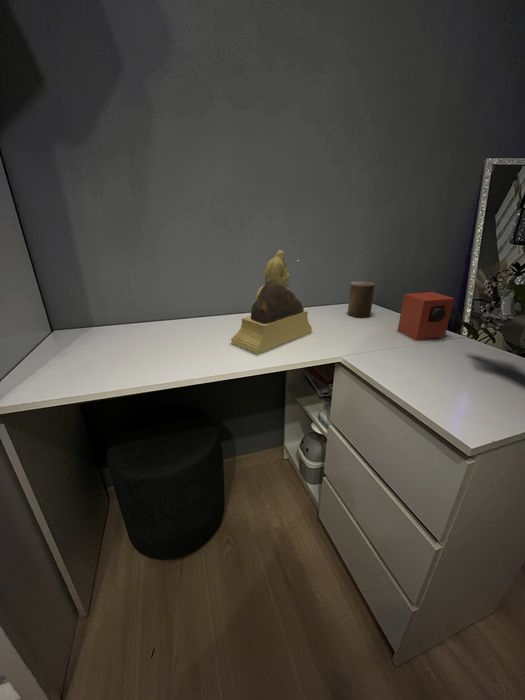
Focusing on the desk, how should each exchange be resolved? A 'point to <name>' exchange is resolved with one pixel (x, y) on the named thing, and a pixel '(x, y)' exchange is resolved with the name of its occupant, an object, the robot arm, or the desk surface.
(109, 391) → the desk surface
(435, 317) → the button
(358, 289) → the pillar candle
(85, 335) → the desk surface
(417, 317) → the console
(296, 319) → the yellow and brown statue
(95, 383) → the desk surface
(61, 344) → the desk surface
